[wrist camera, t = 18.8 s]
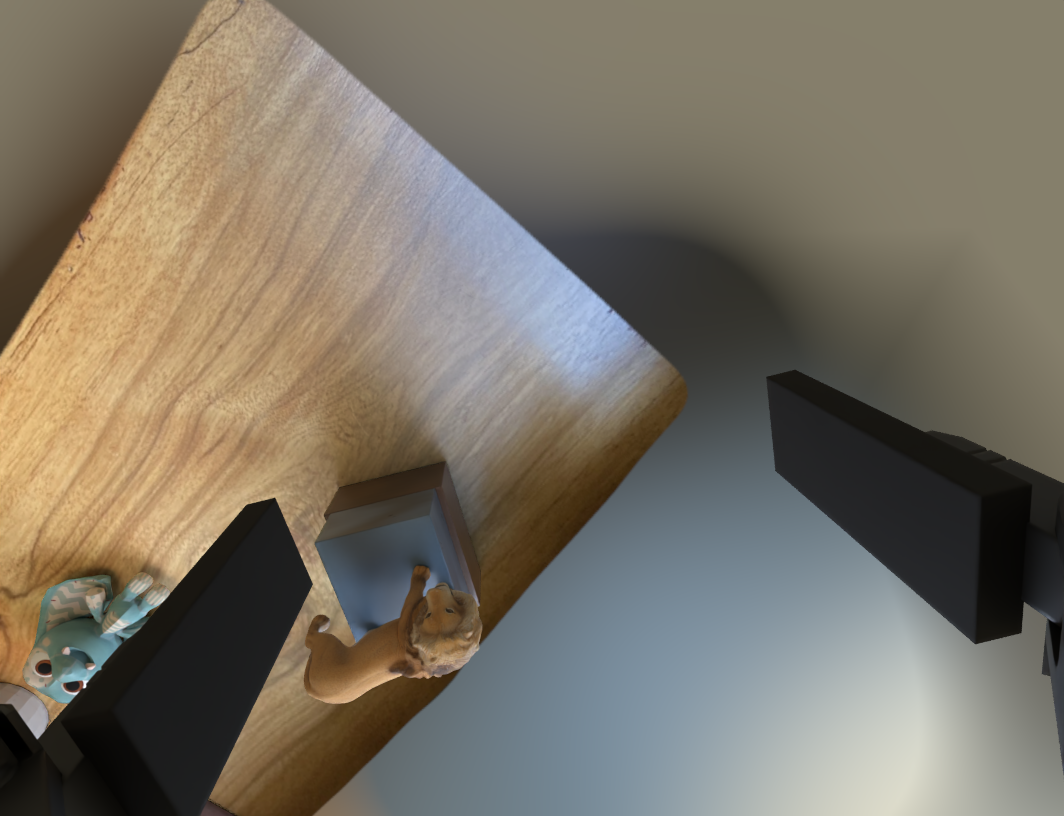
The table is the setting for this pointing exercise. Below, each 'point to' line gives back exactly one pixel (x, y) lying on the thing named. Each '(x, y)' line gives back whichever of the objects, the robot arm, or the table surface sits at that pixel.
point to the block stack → (395, 543)
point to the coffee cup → (26, 707)
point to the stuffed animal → (85, 630)
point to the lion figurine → (396, 644)
